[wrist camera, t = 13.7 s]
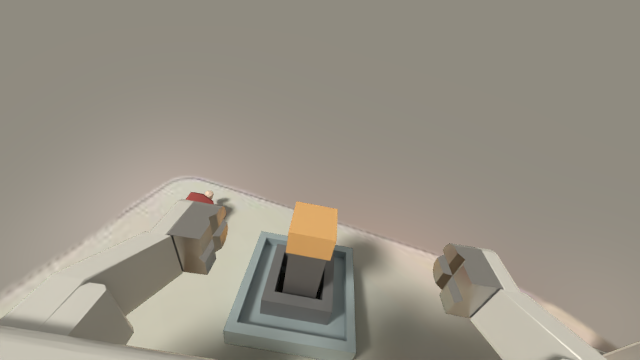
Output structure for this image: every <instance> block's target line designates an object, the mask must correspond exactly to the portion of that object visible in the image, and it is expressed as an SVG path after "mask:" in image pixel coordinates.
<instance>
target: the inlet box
mask: <svg viewBox="0 0 640 360" xmlns="http://www.w3.org/2000/svg"><path fill="white" fill-rule="evenodd" d="M287 240H288V236H284V235H279V234H274V233H268V232H263V231H261V234H260V237H259V239H258V242H257V244H256V247H255V250H254V252H253V255H252V257H251V260H250V263H249V265H248V268H247V270H246V273H245V276H244V278H243V281H242V283H241V286H240V289H239V291H238V294H237V296H236V299H235V302H234V304H233V307H232V309H231V312H230V315H229V317H228V320H227V322H226V325H225V327H224V330H223V332H224V342H225V343H227V344H233V345H239V346H244V347H250V348H256V349H262V350H268V351H274V352H279V353H285V354H291V355H297V356H303V357H308V358H314V359H320V360H352V359H353V358H354V356H355V355H356V334H355V306H354V278H353V250H352V248H349V247H343V246H338V245H335V247H334V250H333V253H332V257H331V260H330V261H329V260H327V261H326V264H325V268H324V271H323V274H322V277H321V281H320V284H319V292H318V299H313V298H308V297H302V296H297V295H291V294H286V293H280V292H277V288H278V284H279V280H280V276H281V272H282V273H286V267H287V261H288V254H289V253H286V247H287Z"/></svg>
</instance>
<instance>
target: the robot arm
mask: <svg viewBox="0 0 640 360" xmlns="http://www.w3.org/2000/svg"><path fill="white" fill-rule="evenodd" d="M225 216H226V210H225V207H223V206H219V205H213V204H208V203H203V202H197V201H191V200H185V199H181V200H179V201H177V202H176V203H175V204H174V205H173V207H172V208H171V209H170V210H169V211H168V212H167V213H166V214H165V215H164V217H163V218H162V219H161V220H160V221H159V222H158V223H157V224H156V226H155V227H154V228H153V229H152V230H151V231H150V232H146V231H145V232H143V233H141V234H138V235H136V236H134V237H132V238H130V239H127V240H125V241H123V242H121V243H119V244H117V245H114V246H112V247H110V248H108V249H106V250H103V251H101V252H99V253H97V254H95V255H93V256H90V257H88V258H86V259H84V260H82V261H79V262H77V263H75V264H73V265H71V266H69V267H66V268H64V269H62V270H60V271H58V272H55V273H53V274H51V275H50V276H49V277H48V278H47V279H45V280H44V281H43V282H42V283H41V284H40V285H39V286H38V287H36V288H35V289H34V290H33V291H32V292H31V293H30V294H29V295H27V296H26V297H25V298H24V299H23V300H22V301H21V302H20V303H18V304H17V305H16V306H15V307H14V308H13V309H12V310H11V311H9V312H8V313H7V314H6V315H5V316H4V317H3V318H1V319H0V360H216V359H210V358H203V357H197V356H191V355H184V354H178V353H172V352H165V351H159V350H153V349H147V348H140V347H134V346H128V345H126V344H127V342H128V341H129V339H130V337H131V336H132V334H133V333H134V331H133V327H132V325H131V324H130V322H129V321H128V319H127V318H126V315H127V314H129V313H130V312H131V311H133V310H134V309H135V308H137V307H138V306H139V305H141V304H142V303H143V302H145V301H146V300H147V299H149V298H150V297H151V296H153V295H154V294H155V293H157V292H158V291H159V290H161V289H162V288H163V287H165V286H166V285H167V284H169V283H170V282H171V281H173V280H174V279H175V278H177V277H178V276H179V275H181V274H182V272H189V273H197V274H204V275H208V273H209V271H210V269H211V267H212V265H213V264H214V262H215V260H216V255H215V252H216V251H218V250H220V249H221V248H222V246H223V244H224V242H225V240H226V236H227V230H228V226H227V222H226V221H225V220H224V217H225ZM443 252H444V255H442V256H440V257H438V258H437V259H436V261H435V263H434V267H433V276H434V280H435V283H436V284H437V285H438V286H439V287H440V288H441V289H442V290H441V293H440V298H441V301H442V304H443V307H444V310H445V313H446V314H451V315H456V316H462V317H467V318H471V319H470V320H471V321H472V323H473V324H474V325H475V326H476V328H477V329H478V330H479V331H480V333H481V334H482V335H483V336H484V337H485V339H486V340H487V341H488V342H489V344H490V345H491V346H492V347H493V349H494V350H495V351H496V352H497V354H498V355H499V356H500V357H501V358H502V360H640V341H638V342H636V343H633V344H630V345H627V346H625V347H622V348H619V349H617V350H614V351H611V352H609V353H606V352H604V351H601V350H598V349H595V348H592V347H591V346H590V345H589V344H587V343H586V342H585V341H584V340H582V339H581V338H580V337H579V336H577V335H576V334H575V333H574V332H573V331H571V330H570V329H569V328H568V327H566V326H565V325H564V324H563V323H561V322H560V321H559V320H558V319H556V318H555V317H554V316H553V315H552V314H550V313H549V312H548V311H547V310H545V309H544V308H543V307H542V306H540V305H539V304H538V303H537V302H536V301H534V300H533V299H532V298H531V297H529V296H528V295H527V294H526V293H521V292H520V290H519V289H518V287H517V285H516V284H515V282H514V281H513V279H512V278H511V276H510V274H509V273H508V271H507V270H506V268H505V266H504V265H503V263H502V262H501V260H500V258H499V257H498V255H497V254H496V253H495V252H494V251H493V250H489V249H483V248H475V247H469V246H462V245H457V244H450V243H449V244H448V245H446V246H445V247H444V249H443Z"/></svg>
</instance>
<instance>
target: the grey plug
mask: <svg viewBox="0 0 640 360" xmlns="http://www.w3.org/2000/svg"><path fill="white" fill-rule="evenodd" d="M337 211H338V210H337V209H334V208H328V207H323V206H318V205H313V204H308V203H302V202H296V206H295V209H294V213H293V217H292V221H291V225H290V229H289V233H288V240H287V247H286V253H289V254H288V261H287V267H286V273H285V280H284V286H283V292H282V293H286V294H291V295H297V296H302V297H308V298H313V299H315V297H316V294H317V291H318V287H319V284H320V281H321V277H322V274H323V271H324V268H325V264H326V261H327V260H329V261H330V260H331V257H332V253H333V250H334V247H335V244H336V240H337Z"/></svg>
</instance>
